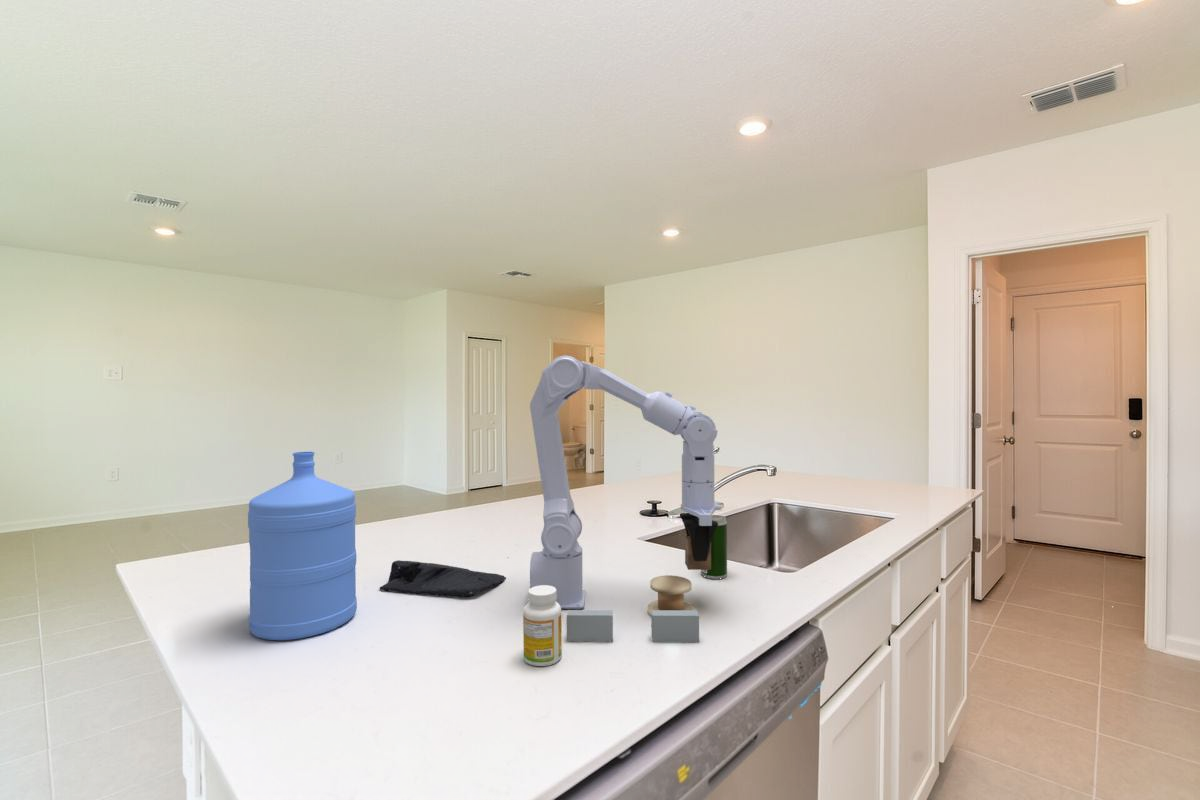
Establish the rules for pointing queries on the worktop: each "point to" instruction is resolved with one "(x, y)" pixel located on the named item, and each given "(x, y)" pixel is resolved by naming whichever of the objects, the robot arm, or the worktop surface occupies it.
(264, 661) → the worktop surface
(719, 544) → the beer can
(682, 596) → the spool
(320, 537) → the water jug
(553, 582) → the robot arm
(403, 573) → the dark slate chunk
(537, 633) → the supplement bottle
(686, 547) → the block
